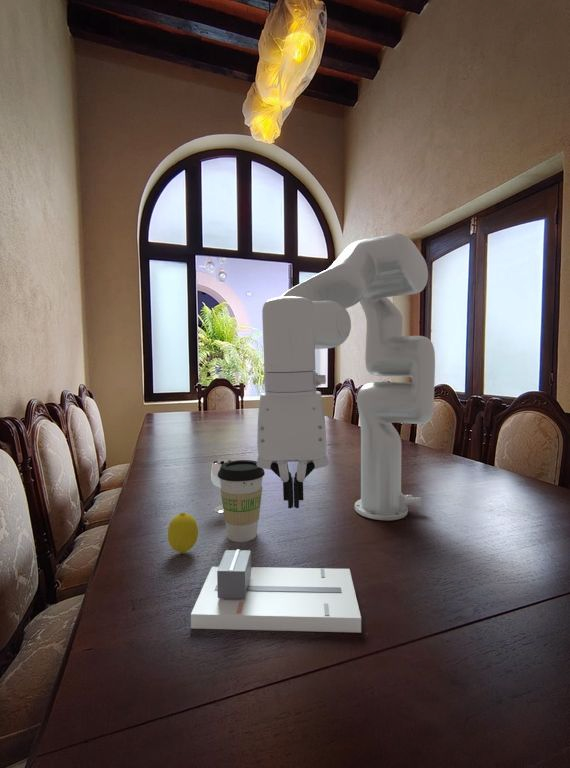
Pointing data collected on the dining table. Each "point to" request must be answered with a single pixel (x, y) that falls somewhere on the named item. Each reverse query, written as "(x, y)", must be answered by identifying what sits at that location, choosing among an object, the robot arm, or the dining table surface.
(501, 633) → the dining table surface
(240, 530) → the coffee cup
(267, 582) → the fader board
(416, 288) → the robot arm
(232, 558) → the fader
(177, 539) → the lemon
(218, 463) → the wineglass
